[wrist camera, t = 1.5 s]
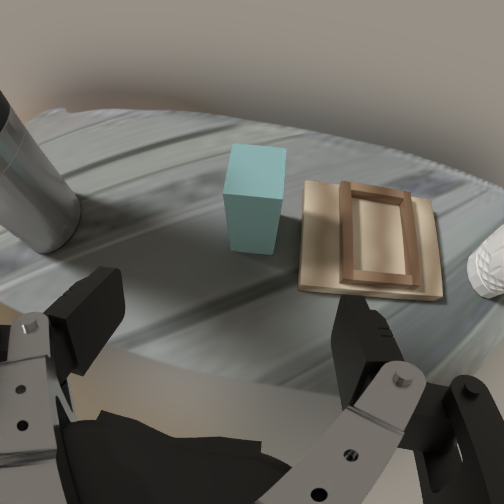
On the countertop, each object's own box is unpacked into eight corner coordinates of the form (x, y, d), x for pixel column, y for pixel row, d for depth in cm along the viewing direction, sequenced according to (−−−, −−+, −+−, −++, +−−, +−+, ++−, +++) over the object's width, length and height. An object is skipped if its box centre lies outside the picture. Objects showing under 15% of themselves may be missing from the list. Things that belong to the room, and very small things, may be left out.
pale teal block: (230, 250, 33) (222, 193, 23) (237, 209, 35) (232, 143, 25) (272, 255, 33) (282, 199, 23) (276, 213, 35) (286, 148, 25)
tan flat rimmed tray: (297, 290, 32) (302, 279, 28) (302, 190, 36) (307, 172, 33) (433, 301, 31) (450, 292, 28) (424, 208, 36) (436, 194, 32)
